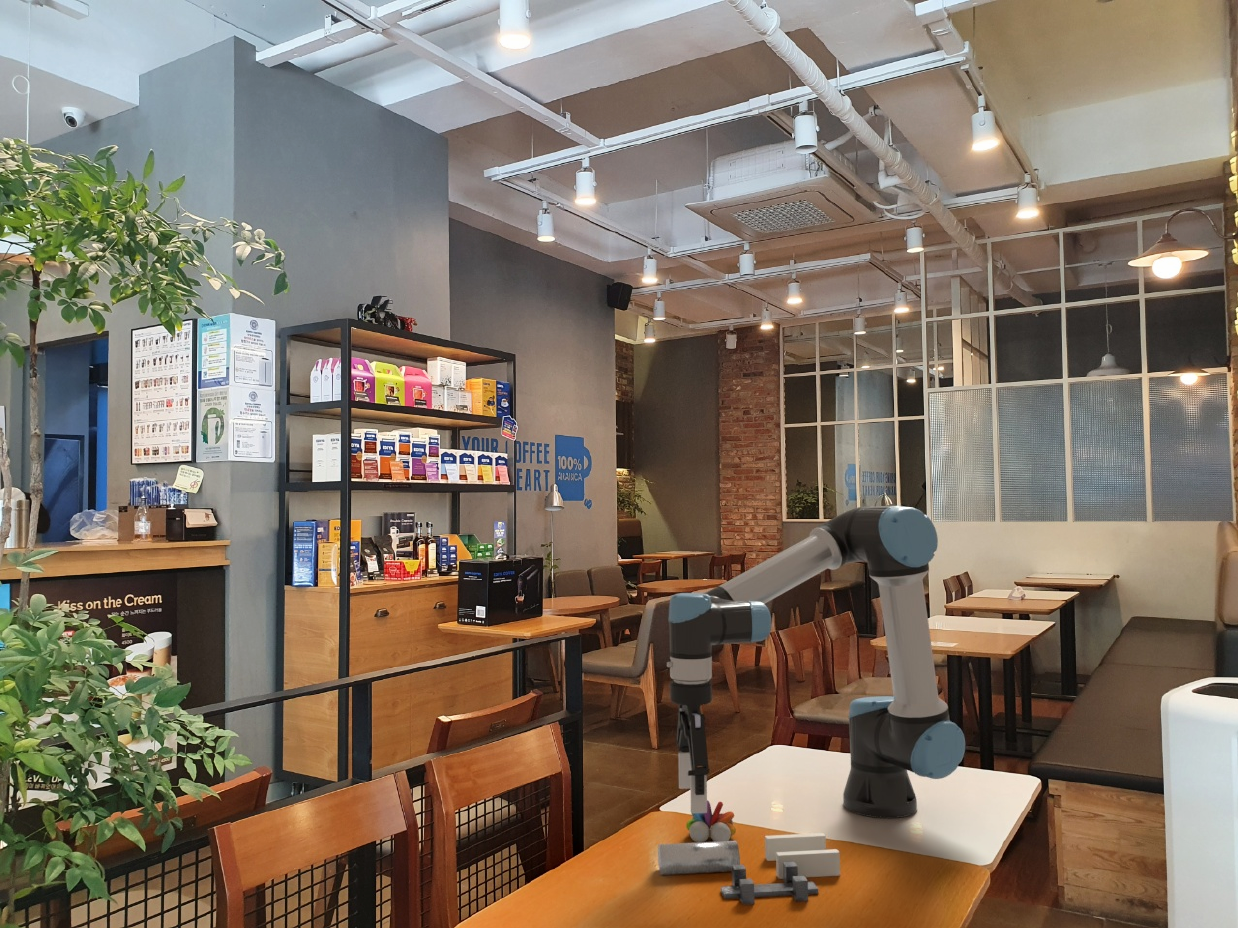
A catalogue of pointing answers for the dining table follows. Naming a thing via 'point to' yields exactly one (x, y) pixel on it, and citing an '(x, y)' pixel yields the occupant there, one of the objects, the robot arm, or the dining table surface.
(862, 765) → the robot arm
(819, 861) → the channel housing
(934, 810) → the dining table surface
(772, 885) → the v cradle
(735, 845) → the axle
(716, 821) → the rainbow petal fan toy
